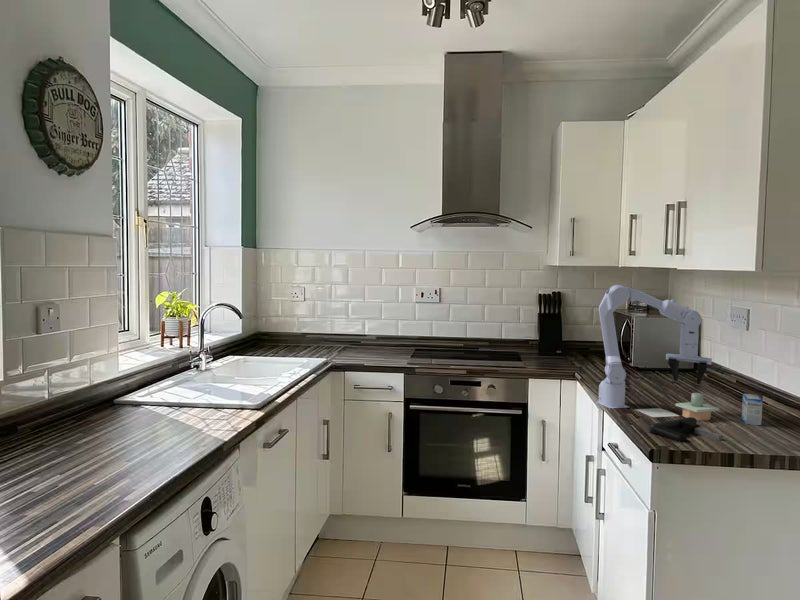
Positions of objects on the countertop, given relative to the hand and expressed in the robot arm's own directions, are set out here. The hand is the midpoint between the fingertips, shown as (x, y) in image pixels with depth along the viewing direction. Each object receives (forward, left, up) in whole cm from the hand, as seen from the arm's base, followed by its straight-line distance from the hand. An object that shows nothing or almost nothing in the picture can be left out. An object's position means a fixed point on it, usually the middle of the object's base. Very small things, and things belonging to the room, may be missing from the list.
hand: (687, 382), depth 202 cm
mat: (+2, -13, -10) cm, 17 cm away
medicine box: (+16, +12, -11) cm, 23 cm away
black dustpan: (+25, -18, -11) cm, 33 cm away
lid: (+9, -3, -7) cm, 12 cm away
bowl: (+9, -3, -10) cm, 14 cm away
